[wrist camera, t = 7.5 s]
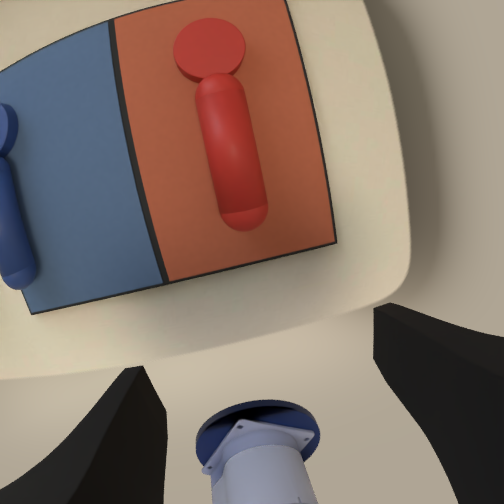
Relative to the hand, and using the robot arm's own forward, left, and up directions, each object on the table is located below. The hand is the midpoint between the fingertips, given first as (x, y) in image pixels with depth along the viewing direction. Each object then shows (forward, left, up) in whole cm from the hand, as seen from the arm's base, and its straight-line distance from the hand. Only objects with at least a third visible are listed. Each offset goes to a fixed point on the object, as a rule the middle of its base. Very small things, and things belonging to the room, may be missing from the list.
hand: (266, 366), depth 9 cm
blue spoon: (-1, +15, -9) cm, 17 cm away
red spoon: (+7, +4, -9) cm, 12 cm away
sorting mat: (+4, +8, -9) cm, 13 cm away
